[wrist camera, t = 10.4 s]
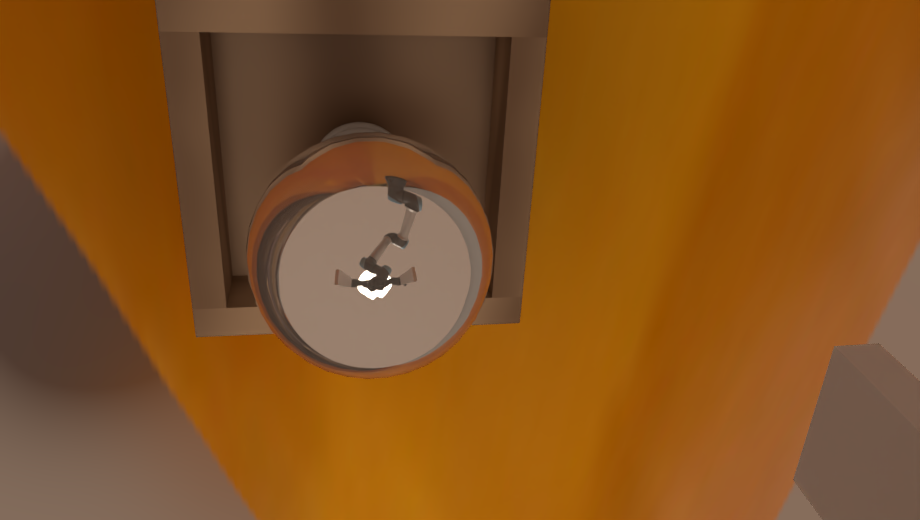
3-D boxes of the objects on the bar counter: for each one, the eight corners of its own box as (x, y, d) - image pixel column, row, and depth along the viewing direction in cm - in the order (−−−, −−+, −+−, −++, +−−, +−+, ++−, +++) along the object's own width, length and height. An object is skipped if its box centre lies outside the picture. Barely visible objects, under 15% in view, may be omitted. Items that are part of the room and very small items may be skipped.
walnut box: (514, -25, 31) (550, 0, 26) (492, 259, 37) (519, 322, 32) (180, -34, 29) (154, -9, 24) (212, 268, 35) (196, 337, 30)
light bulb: (454, 226, 32) (521, 411, 22) (280, 247, 31) (262, 450, 21) (442, 52, 29) (514, 173, 18) (247, 72, 28) (206, 209, 18)
